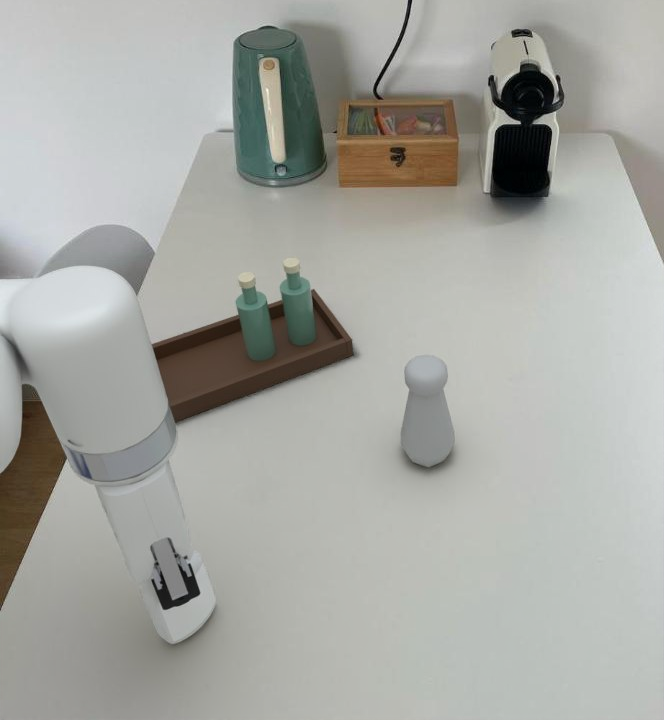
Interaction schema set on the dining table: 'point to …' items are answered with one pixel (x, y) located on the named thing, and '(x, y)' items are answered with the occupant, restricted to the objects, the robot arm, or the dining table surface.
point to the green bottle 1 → (255, 319)
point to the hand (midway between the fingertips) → (172, 576)
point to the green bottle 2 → (297, 305)
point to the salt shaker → (426, 412)
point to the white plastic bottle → (187, 616)
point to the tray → (241, 359)
